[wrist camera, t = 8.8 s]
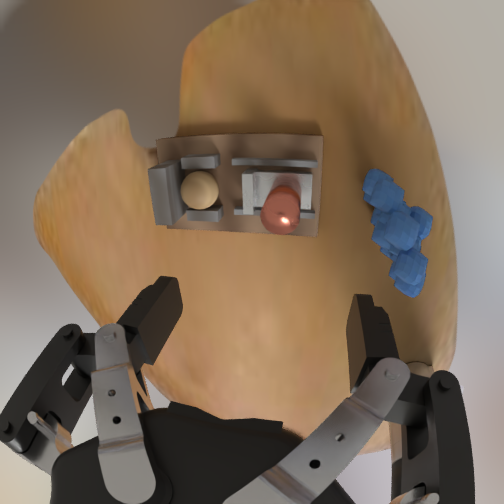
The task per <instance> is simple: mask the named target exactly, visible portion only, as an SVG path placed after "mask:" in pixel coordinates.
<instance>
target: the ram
mask: <svg viewBox="0 0 504 504" xmlns="http://www.w3.org/2000/svg"><path fill="white" fill-rule="evenodd" d="M242 193H243V214H250V215H254V213H255V210H256V208H257V207H262V209H261V213H260V218H261V222H262V224H263V226H264V227H265V228H266V229H267V230H268V231H270V232H271V233H274V234H277V235H285V234H288V233H290V232H292V231H294V230H295V229H296V227H297V226H298V224H299V221H300V210H301V209H310V210H311V196H312V172H302V171H282V170H258V168H247V169H246V170H245V171H244V172H243V173H242Z"/></svg>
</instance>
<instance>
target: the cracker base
mask: <svg viewBox="0 0 504 504" xmlns="http://www.w3.org/2000/svg"><path fill="white" fill-rule="evenodd" d="M156 144H157V155H158V165H156V166H154V167H152V168H150V169H148V176H149V184H150V191H151V198H152V204H153V211H154V217H155V223H156V225H167V229H190V230H210V231H230V232H248V233H264V234H274V233H271V232H270V231H268V230H267V229H266V228H265V227H264V226H263V224H262V222H261V218H260V213H261V209H262V207H257V208H256V210H255V213H254V215H250V214H243V193H242V173H243V172H244V171H245V170H246V169H247V168H258V170H282V171H302V172H312V196H311V210H310V209H301V210H300V221H299V224H298V226H297V227H296V229H295V230H294V231H292V232H290V233H288V234H285V235H296V236H311V237H317V234H318V222H319V210H320V195H321V179H322V158H323V136H322V135H309V134H286V133H232V134H209V135H194V136H181V137H171V138H162V139H159V140H156ZM196 171H204V172H208V173H210V174H211V175H212V176H214V178H215V179H216V180H217V182H218V185H219V194H218V197H217V199H216V201H215V202H214V203H213V204H212V205H211V206H210V207H208V208H205V209H194V208H191V207H189V206H188V205H187V204H186V203H185V202H184V201H183V199H182V197H181V185H182V182H183V180H184V179H185V178H186V177H187V176H188V175H189V174H191V173H193V172H196Z"/></svg>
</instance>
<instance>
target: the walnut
mask: <svg viewBox="0 0 504 504" xmlns="http://www.w3.org/2000/svg"><path fill="white" fill-rule="evenodd" d="M218 194H219V185H218V182H217V180H216V179H215V178H214V176H212V175H211V174H210V173H208V172H204V171H196V172H193V173H191V174H189V175H188V176H187V177H186V178H185V179H184V180H183V182H182V185H181V197H182V199H183V201H184V202H185V203H186V204H187V205H188V206H189V207H191V208H194V209H205V208H208V207H210V206H211V205H212V204H213V203H214V202H215V201H216V199H217V197H218Z"/></svg>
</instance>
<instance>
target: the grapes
mask: <svg viewBox="0 0 504 504" xmlns="http://www.w3.org/2000/svg"><path fill="white" fill-rule="evenodd" d="M362 190H363V191H364V192H365V194H364V198H363V199H364V200H365V201H366V202H368V203H369V204H371V205H372V206H374V207H375V209H374V211H373V214H372V218H371V223H372V224H373V225H374V226H375V228H374V231H373V234H372V240H373V241H374V242H375V243H377V244H378V245H379V246H381V248H380V251H381V252H382V253H383V254H384V255H386V256H387V257H388V258H390V259H391V260H393V263H392V265H391V268H390V272H389V276H390V277H391V278H392V279H394V280H395V283H394V286H395V287H396V288H397V289H398V290H400V291H401V292H402V293H403V294H405V295H407V296H410V297H412V298H414V297H416V296H417V295H418V294H419V293H420V292H421V290H422V288H423V285H424V281H425V277H426V273H425V271H426V267H427V263H428V259H427V258H426V257H425V256H424V255H423V254H422V253H420V250H421V246H420V245H421V240H422V239H424V238H426V237H427V236H428V235H429V233H430V230H431V226H432V219H433V217H432V216H431V215H430V214H429V213H428V212H426V211H425V210H424V209H422V208H420V207H419V206H413V207H411V208H410V207H408V206H407V205H406V202H405V201H403V197H404V190H403V189H402V188H401V187H399V186H398V185H397V184H395V183H394V182H393V178H392V177H390V176H389V175H388V174H386V173H385V172H383V171H381V170H379V169H370V170H369V171H368V173H367V175H366V177H365V180H364V184H363V189H362Z"/></svg>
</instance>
